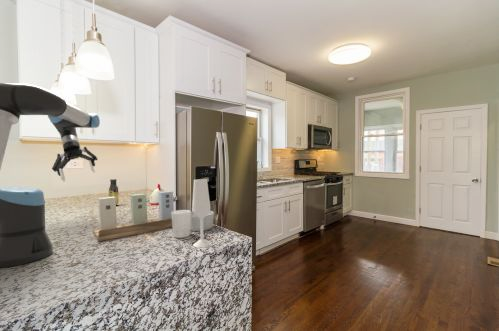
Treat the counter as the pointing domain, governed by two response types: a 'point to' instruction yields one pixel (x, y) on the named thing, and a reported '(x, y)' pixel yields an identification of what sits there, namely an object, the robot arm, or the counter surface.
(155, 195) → the kitchen timer
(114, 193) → the sauce bottle
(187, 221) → the white cup
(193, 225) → the ramekin
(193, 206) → the champagne flute
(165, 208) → the tile
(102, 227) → the tile
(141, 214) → the tile
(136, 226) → the oak board
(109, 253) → the counter surface
